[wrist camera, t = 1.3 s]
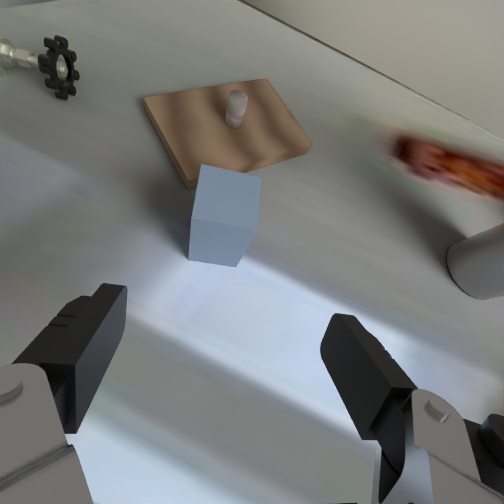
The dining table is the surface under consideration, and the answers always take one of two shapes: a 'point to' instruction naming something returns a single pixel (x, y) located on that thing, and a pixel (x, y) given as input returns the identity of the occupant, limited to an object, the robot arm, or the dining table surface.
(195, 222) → the block
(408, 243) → the dining table surface
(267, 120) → the post plate
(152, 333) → the dining table surface
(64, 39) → the valve
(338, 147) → the dining table surface
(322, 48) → the dining table surface
